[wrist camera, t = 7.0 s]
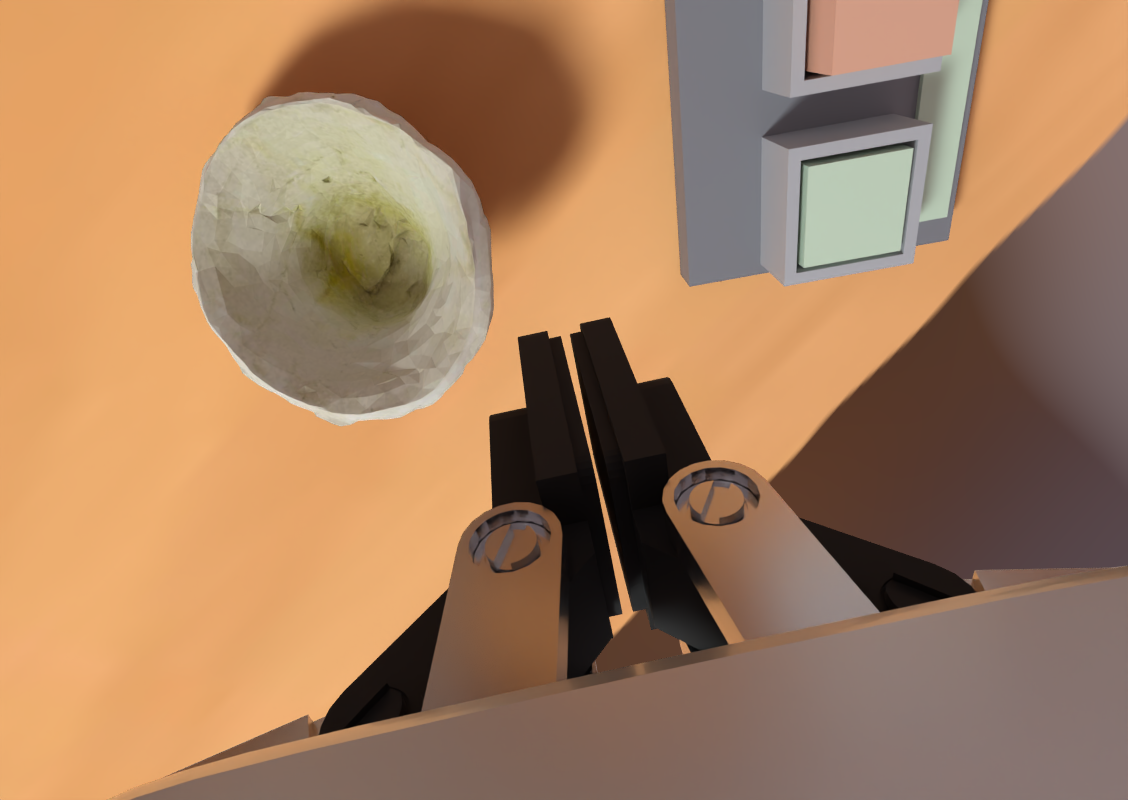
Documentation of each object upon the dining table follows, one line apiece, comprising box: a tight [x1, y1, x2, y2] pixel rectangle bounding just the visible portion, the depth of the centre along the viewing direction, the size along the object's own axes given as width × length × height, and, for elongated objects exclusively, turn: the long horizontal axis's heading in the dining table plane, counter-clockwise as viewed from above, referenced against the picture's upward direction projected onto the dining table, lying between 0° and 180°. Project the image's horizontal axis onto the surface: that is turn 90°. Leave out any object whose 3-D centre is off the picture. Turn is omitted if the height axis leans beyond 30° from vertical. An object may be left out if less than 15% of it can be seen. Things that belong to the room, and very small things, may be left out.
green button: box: [797, 143, 914, 268], centre depth 33 cm, size 5×5×3 cm
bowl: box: [191, 92, 494, 426], centre depth 31 cm, size 15×14×10 cm
